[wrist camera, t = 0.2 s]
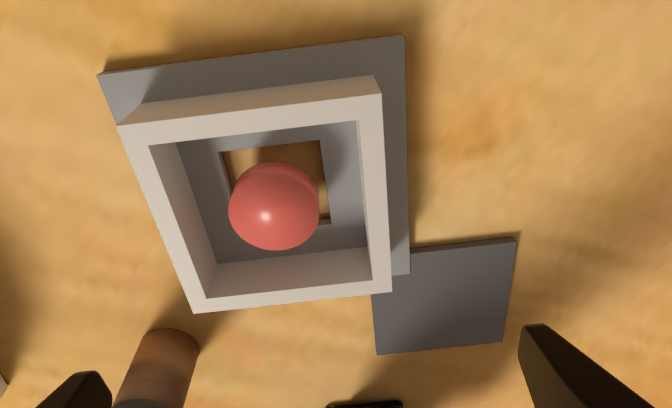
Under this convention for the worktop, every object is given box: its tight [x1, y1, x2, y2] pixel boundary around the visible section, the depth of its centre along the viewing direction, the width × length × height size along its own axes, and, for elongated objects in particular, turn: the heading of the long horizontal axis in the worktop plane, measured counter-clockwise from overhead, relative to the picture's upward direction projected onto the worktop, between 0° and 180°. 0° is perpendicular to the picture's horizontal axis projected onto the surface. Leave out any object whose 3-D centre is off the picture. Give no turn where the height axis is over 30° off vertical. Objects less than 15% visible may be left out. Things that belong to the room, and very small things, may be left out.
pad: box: [371, 237, 517, 355], centre depth 28 cm, size 9×9×1 cm
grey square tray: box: [96, 34, 410, 314], centre depth 21 cm, size 14×14×4 cm
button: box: [228, 161, 319, 250], centre depth 21 cm, size 4×4×1 cm
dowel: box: [112, 328, 199, 408], centre depth 27 cm, size 4×4×6 cm
